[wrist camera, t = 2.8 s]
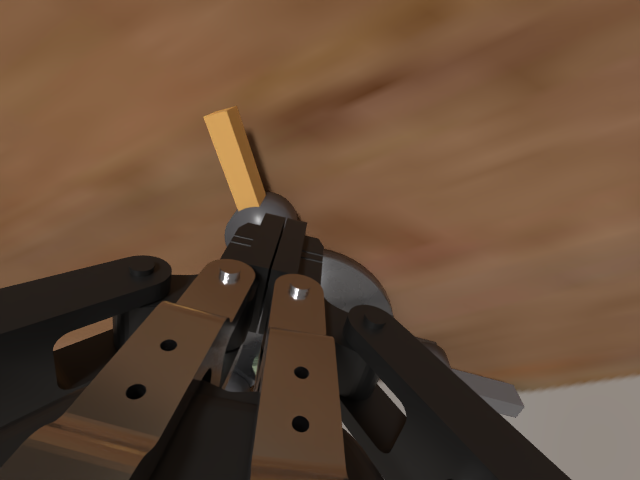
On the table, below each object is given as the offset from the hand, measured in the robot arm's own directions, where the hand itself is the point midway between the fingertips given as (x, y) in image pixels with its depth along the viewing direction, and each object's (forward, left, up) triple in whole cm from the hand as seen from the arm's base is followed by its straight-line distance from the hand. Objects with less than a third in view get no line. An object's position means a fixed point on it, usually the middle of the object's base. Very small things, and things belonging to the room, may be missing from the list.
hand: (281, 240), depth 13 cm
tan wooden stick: (+4, +1, -12) cm, 13 cm away
